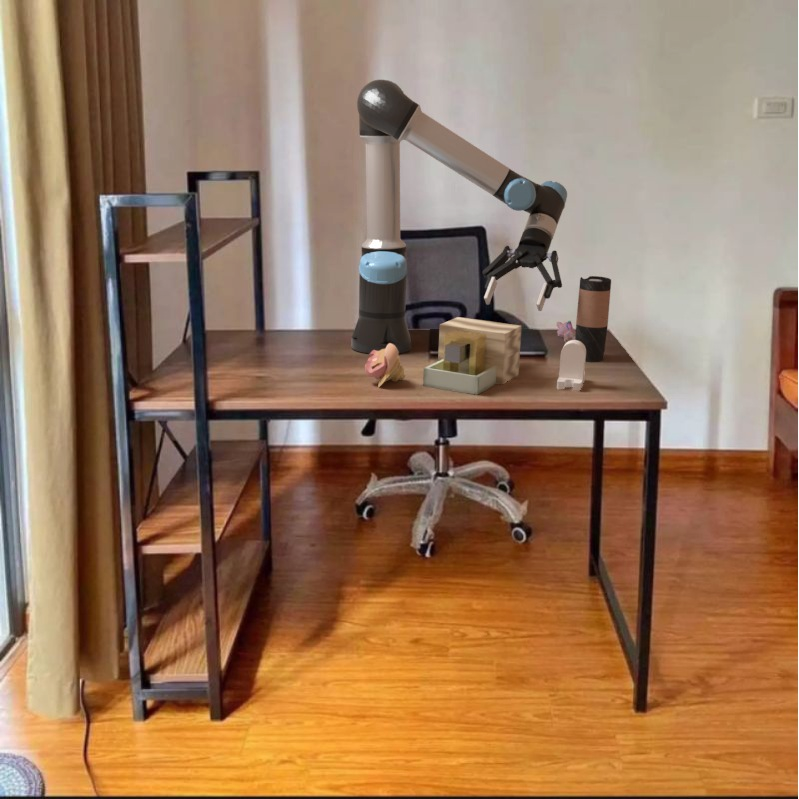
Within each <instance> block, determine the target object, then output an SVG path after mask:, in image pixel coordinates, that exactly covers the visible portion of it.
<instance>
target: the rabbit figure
mask: <svg viewBox="0 0 799 799" xmlns="http://www.w3.org/2000/svg"><path fill="white" fill-rule="evenodd" d="M556 327H557V329H558V330H557V331H556V334H557V337H561V338H563V342H564V344H566V343H567V342H568V341H571V340H575V336H576V329H574V327H573V325H572V321H571V320H568V321H564V322H561V321H556Z"/></svg>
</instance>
